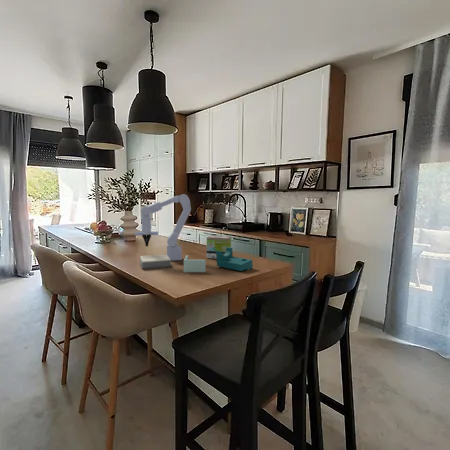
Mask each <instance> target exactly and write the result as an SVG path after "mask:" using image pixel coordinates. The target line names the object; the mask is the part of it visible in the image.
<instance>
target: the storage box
mask: <svg viewBox="0 0 450 450" xmlns="http://www.w3.org/2000/svg"><path fill="white" fill-rule="evenodd" d="M139 258H140V257H139ZM139 260H140V261H139V262H140V263H139V264H140V267H141V270H151V269H152V270H153V269H162V268H170V267H171V261H170V260H168V261H155V262H142V261H141V258H140V259H139Z"/></svg>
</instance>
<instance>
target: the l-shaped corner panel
mask: <svg viewBox="0 0 450 450" xmlns="http://www.w3.org/2000/svg"><path fill="white" fill-rule="evenodd" d="M206 266H207V265H206V259H189V255H185V257H184V259H183V273H206V270H207V269H206V268H207V267H206Z"/></svg>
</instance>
